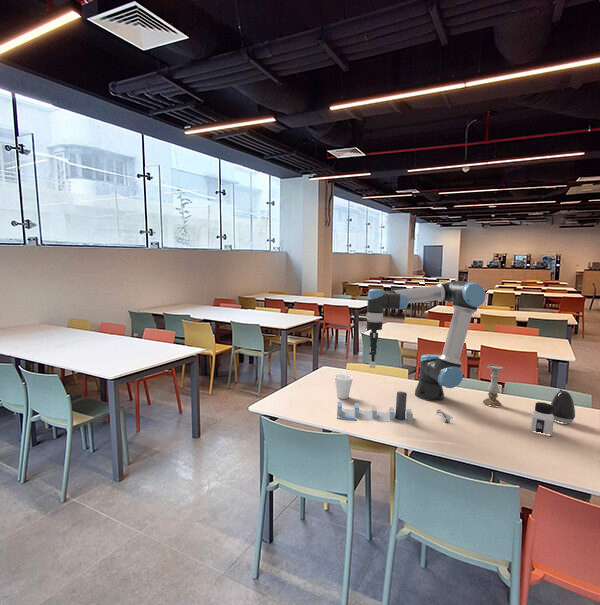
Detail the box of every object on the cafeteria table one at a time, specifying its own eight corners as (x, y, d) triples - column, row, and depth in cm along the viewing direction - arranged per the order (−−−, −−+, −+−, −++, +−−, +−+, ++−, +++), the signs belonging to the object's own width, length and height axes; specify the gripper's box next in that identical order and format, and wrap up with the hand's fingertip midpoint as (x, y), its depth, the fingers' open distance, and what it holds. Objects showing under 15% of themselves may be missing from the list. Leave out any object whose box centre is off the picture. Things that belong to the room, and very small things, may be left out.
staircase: (435, 421, 177) (436, 409, 176) (442, 420, 178) (443, 408, 178) (445, 427, 171) (446, 415, 170) (452, 425, 173) (453, 414, 172)
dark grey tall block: (404, 416, 178) (406, 391, 177) (405, 420, 174) (407, 395, 172) (394, 415, 179) (396, 391, 177) (395, 419, 174) (397, 394, 173)
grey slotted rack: (409, 415, 181) (410, 405, 181) (413, 425, 170) (413, 414, 170) (337, 409, 185) (338, 399, 185) (336, 418, 175) (337, 408, 174)
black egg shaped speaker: (569, 419, 183) (573, 389, 182) (577, 428, 174) (581, 396, 172) (545, 416, 187) (548, 386, 185) (551, 424, 177) (555, 392, 175)
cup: (353, 401, 197) (354, 380, 196) (334, 400, 198) (334, 379, 196) (351, 394, 207) (352, 374, 206) (332, 393, 207) (333, 374, 206)
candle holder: (497, 408, 194) (501, 370, 192) (479, 403, 201) (483, 366, 198) (504, 404, 200) (507, 367, 198) (487, 399, 206) (490, 363, 204)
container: (551, 437, 163) (555, 408, 162) (530, 432, 167) (534, 404, 166) (551, 431, 170) (554, 403, 168) (531, 426, 174) (534, 399, 172)
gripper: (366, 317, 196) (364, 357, 199) (366, 324, 172) (364, 370, 174) (381, 317, 195) (379, 358, 197) (383, 325, 171) (380, 371, 173)
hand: (372, 364), depth 186 cm, fingers open, 13 cm apart
